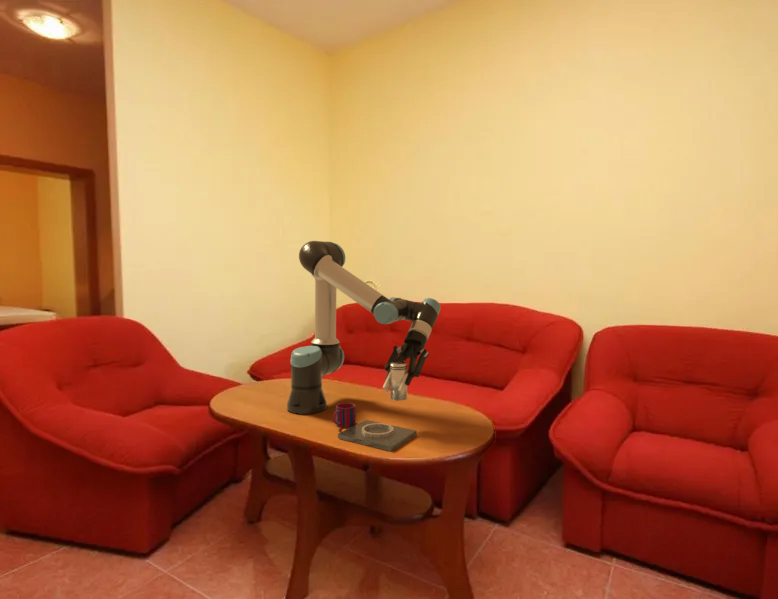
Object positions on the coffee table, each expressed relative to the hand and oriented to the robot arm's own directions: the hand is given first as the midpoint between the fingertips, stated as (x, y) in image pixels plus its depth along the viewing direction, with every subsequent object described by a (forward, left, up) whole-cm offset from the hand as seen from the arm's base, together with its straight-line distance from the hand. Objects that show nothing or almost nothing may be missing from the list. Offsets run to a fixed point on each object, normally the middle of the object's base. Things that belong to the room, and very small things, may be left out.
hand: (392, 391), depth 157 cm
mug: (-11, -15, -14) cm, 23 cm away
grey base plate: (+3, -7, -14) cm, 15 cm away
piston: (-2, +3, -3) cm, 5 cm away
